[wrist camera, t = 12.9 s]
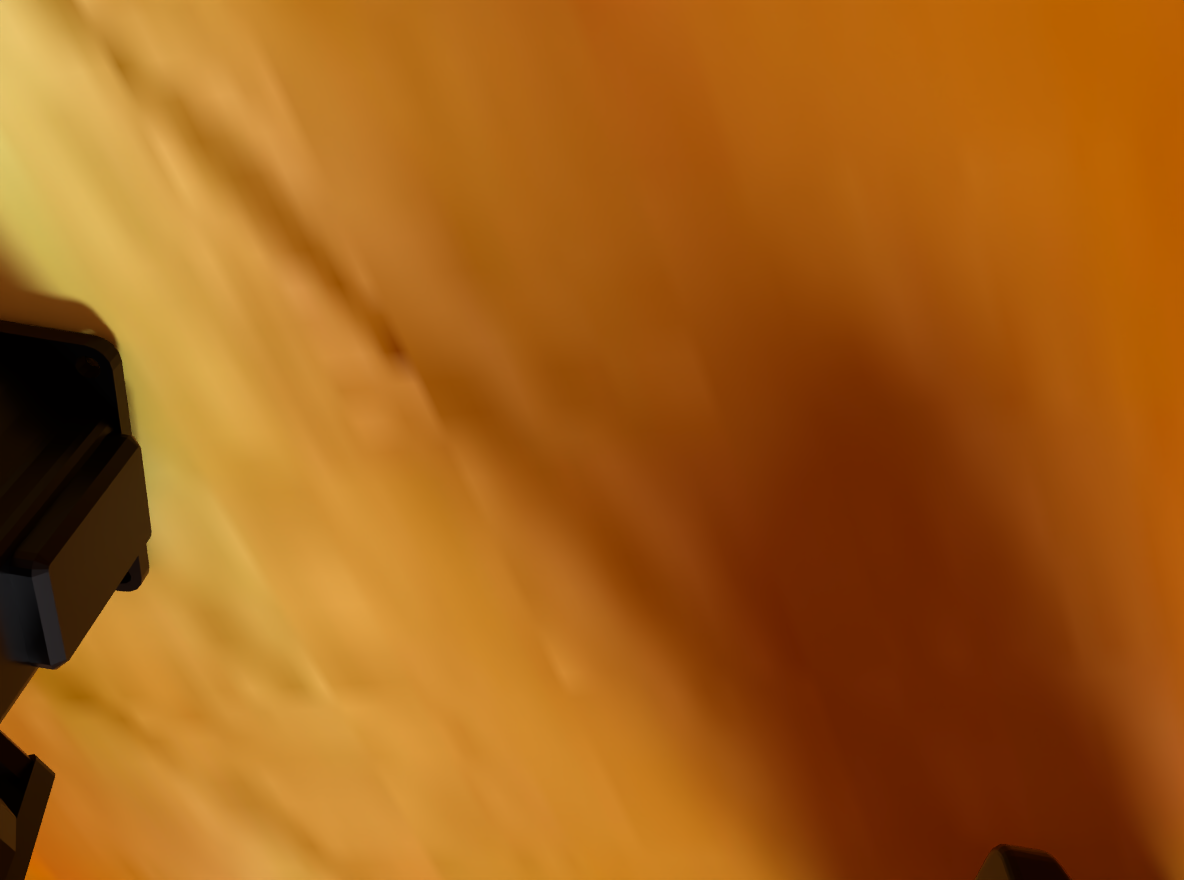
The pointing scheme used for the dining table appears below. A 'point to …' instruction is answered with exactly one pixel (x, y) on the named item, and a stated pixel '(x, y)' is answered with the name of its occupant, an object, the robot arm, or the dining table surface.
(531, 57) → the dining table surface
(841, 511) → the dining table surface
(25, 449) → the robot arm
